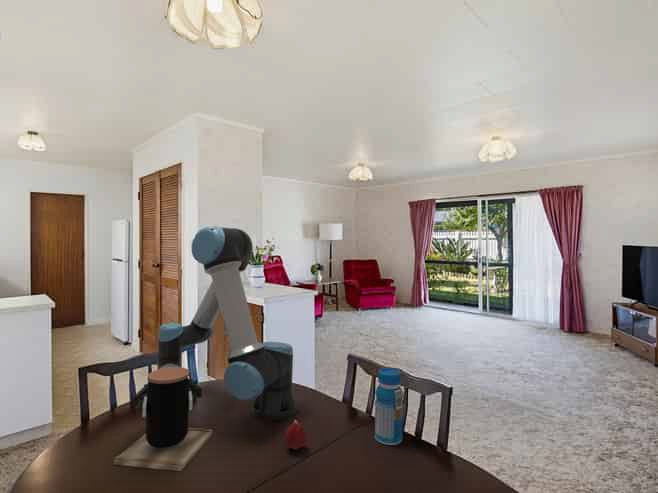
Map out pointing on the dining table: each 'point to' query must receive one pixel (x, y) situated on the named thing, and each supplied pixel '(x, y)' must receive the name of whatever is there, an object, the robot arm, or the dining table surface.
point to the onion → (295, 435)
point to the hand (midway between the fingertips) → (168, 408)
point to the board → (164, 452)
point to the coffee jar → (167, 406)
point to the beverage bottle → (389, 407)
